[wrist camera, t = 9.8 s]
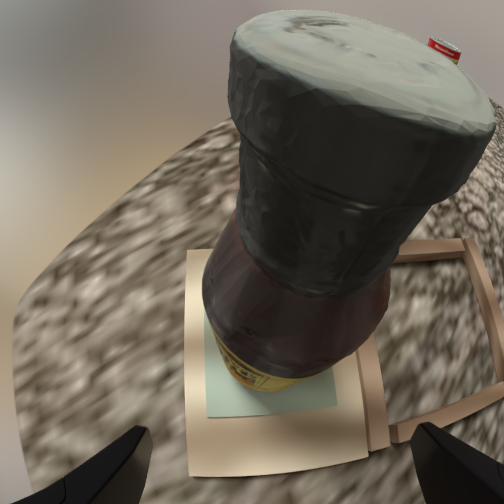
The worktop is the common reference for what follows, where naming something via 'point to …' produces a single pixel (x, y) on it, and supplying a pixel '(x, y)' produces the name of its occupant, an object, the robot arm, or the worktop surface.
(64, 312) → the worktop surface
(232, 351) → the sauce bottle
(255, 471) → the wooden frame
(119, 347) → the worktop surface
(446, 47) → the canned food
